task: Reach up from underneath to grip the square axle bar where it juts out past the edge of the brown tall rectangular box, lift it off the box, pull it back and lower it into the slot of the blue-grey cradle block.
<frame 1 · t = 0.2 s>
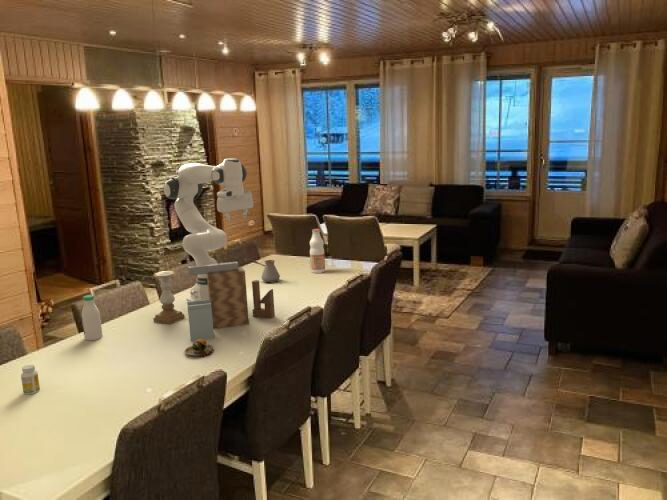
hand: (236, 219, 282), 48 cm above the table, tool pointing down, fingers open, 8 cm apart
wooden block: (263, 316, 281), on the table
coffee pot: (263, 281, 350), on the table
milk bottle: (93, 338, 260), on the table
candle holder: (169, 320, 282), on the table
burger: (199, 353, 236), on the table
brown tall rectangular box: (229, 323, 272), on the table
supplement bottle: (32, 392, 206), on the table
cradle block: (202, 336, 255), on the table
fruit juice: (318, 272, 369), on the table
axle bar: (213, 272, 266), point 26 cm above the table, touching brown tall rectangular box
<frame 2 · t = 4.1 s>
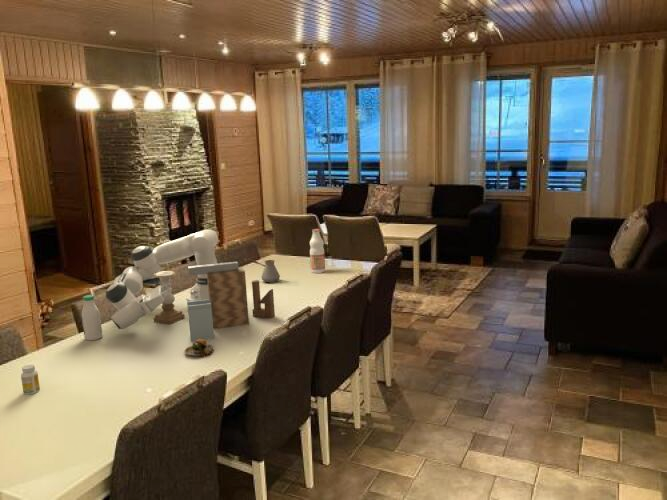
hand: (171, 286, 261), 21 cm above the table, tool pointing upward, fingers open, 8 cm apart
nothing on the table moved.
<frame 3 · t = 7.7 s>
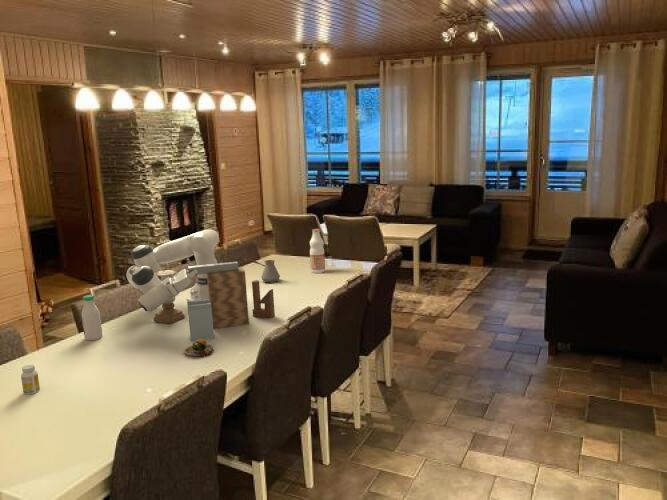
hand: (196, 269, 263), 28 cm above the table, tool pointing upward, fingers closed on axle bar, 4 cm apart
candle holder: (169, 319, 282), on the table, touching arm
axle bar: (213, 272, 266), point 26 cm above the table, touching gripper
everything else where it was.
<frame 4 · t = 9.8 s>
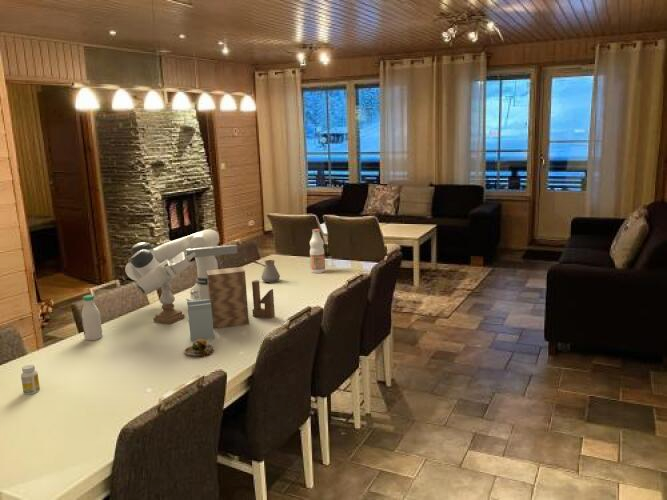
hand: (194, 251, 262), 36 cm above the table, tool pointing upward, fingers closed on axle bar, 4 cm apart
candle holder: (169, 320, 282), on the table
axle bar: (212, 254, 264), point 34 cm above the table, touching gripper
everything else where it was.
when the fingers open (19 cm above the table, at t = 17.6 s): axle bar drops 3 cm, resting on cradle block.
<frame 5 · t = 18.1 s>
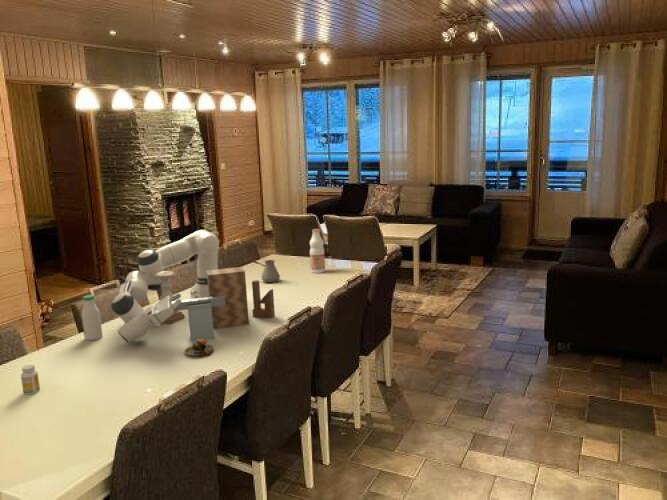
hand: (180, 297, 250), 19 cm above the table, tool pointing upward, fingers open, 8 cm apart
axle bar: (199, 307, 253), point 14 cm above the table, touching cradle block
everything else where it was.
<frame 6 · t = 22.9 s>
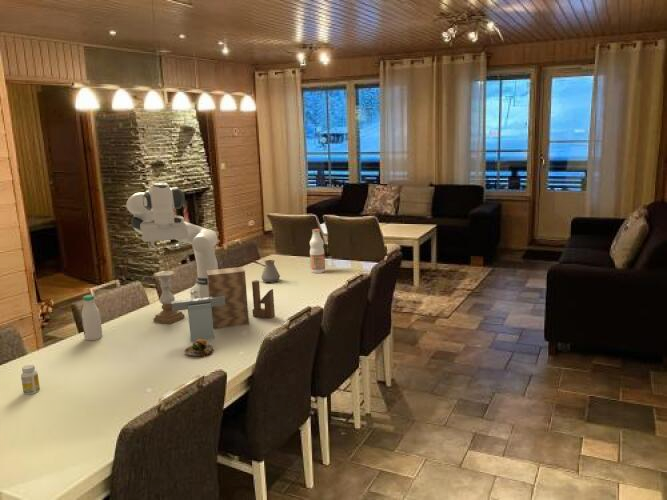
hand: (167, 249, 256), 39 cm above the table, tool pointing down, fingers open, 8 cm apart
nothing on the table moved.
at the end: axle bar inside the target area on the cradle block (0.1 cm from its centre), point 14.0 cm above the cradle block's base; the gripper is holding nothing; axle bar moved 20.4 cm from its start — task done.
